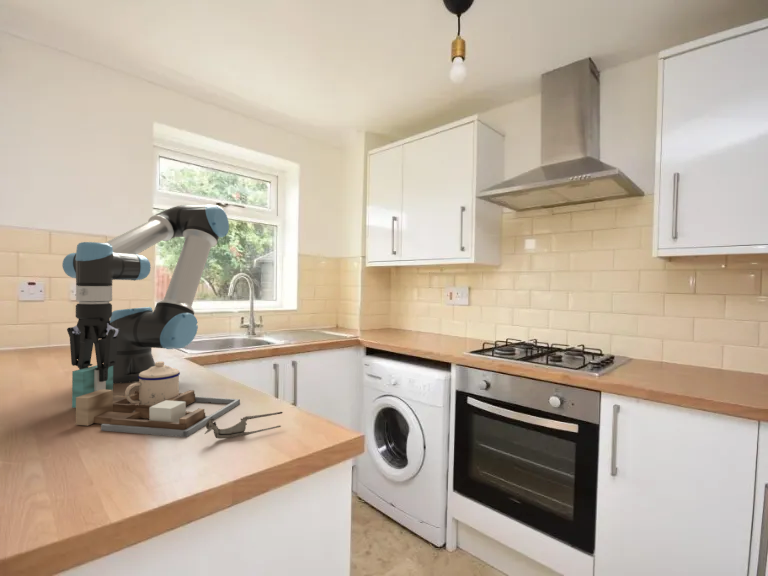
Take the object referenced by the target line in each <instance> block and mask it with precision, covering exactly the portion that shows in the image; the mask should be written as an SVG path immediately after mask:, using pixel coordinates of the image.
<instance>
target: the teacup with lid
mask: <svg viewBox="0 0 768 576" xmlns="http://www.w3.org/2000/svg"><path fill="white" fill-rule="evenodd" d="M180 375H181V372H180V370H179V369H178V368H175V367H171V366H169V365H167V364H165V362H164V361H156V362H155V366H153V367H151V368H149V369H148V370H145V371H142V372H141V373H140V374H139V376H138V378H139V382H132V383H130V384H129V385H128V386H127V387H126V388H125V391H124V396H125V397H126V399H127V400H128V401H129V402H130V403H129V404H135V405H149V406H154V405H156V404H158V403H160V402H163V401H165V400H168V399H171V398H173V397H175V396H177V395H179V393H180V389H179V388H180V387H179V386H180V384H179V383H180ZM135 387H138V390H139V399H137V400H132V399H131V398H130V396H129V395H130V392H131V390H132V389H133V388H135Z"/></svg>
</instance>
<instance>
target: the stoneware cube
mask: <svg viewBox="0 0 768 576" xmlns="http://www.w3.org/2000/svg"><path fill="white" fill-rule="evenodd" d="M186 407H187V406H186V402H184V401H169V400H165V401H163V402H160V403H158V404H156V405H154V406H151V407H150V409H149V418H148V419H149V421H163V422H176V423H179V419H180V418H182V417H184V416H185V415H186V411H187V409H186Z"/></svg>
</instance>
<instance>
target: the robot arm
mask: <svg viewBox="0 0 768 576" xmlns="http://www.w3.org/2000/svg"><path fill="white" fill-rule="evenodd" d="M229 229H230V223H229V218H228V215H227V213H226V211H225V210H224V209H223V207H221V206H219V205H215V204H202V205H201V204H195V205H194V204H191V205H190V204H183V205H182V204H181V205H176V206H172V207H170V208H168V209H165V210H163V211H161V212H158V213H156V214H154V215H152V216H151V217H149V218H148V220H147V222H144V223H142V224H140V225H138V226H135V227H134V228H132V229H130V230H128V231H126V232H123V233H122V234H120V235H118V236H116V237H114V238H112V239H110V240H108V241H105V242H95V241H94V242H93V241H81V242H79V243H78V244H77V246H76V252H72V253H69V254H67V255H65V257H64V258H63V260H62V269H63V272H64V273H65V275H66V276H69V277H70V278H72V279H75V301H76V302H78V303H76V305H75V318H76V319H78V321H77V323H76V325H75V326H71V327H67V328H66V331H67V334H68V337H69V347H70V348H69V349H70V359H71V360H70V361H71V365H72V366H74V367H75V366H76V367H77V368H78V370H80V369H84V368H88V367H92V366H94V365H93V364H92V363H91V360H92V356H93V355H92V354H93V348H94V351H95V352H94V353H95V359H96V365H97V368H95V370H94V391H98V390H101V389H106V381H107V379H108V368H109V367H111V366H113V384H133V383H138V382H139V378H138V376H139V374H140V373H141V372H142V371H145V370H148V369H149V368H151V367H153V366H155V363H156V362H155V359H154V356H153V353H152V349H153V348H154V349H166V350H176V349H177V350H179V349H183V348H186V347H187V346H189V345H190V344H191V343H192V341H194V339H195V338H196V336H197V332H198V328H199V326H198V322H199V321H198V319H197V317H196V316H195V310H194V309H193V302H194V300H195V297H196V293H197V291H198V288H199V285H200V281H201V279H202V276H203V272H204V269H205V265H206V264H207V260H208V259H209V255H210V251H211V248H213V247H215V246H217V244H218V241H219V238H224V237H226V236H227V235H228V233H229ZM182 237H183V238H184V239H185V240H184V243H183V245H182V249H181V251H180V253H179V256H178V260H177V262H176V265H175V268H174V271H173V274H172V276H171V278H170V281H169V284H168V287H167V290H166V292H165V294H164V298H163V300H160V301H157V302H156V303H155V304H156V305H155V307H154V310H153V308H152V307H151V306H145V307H134V308H124V309H116V310H114V311H113V304H112V303H111V302H112V301H113V281H114V280H115V281H116V280H117V281H119V280H120V281H138V280H139V281H141V280H144V279H145V278H147V277H148V276H149V275H150V273H151V269H152V268H151V262H150V260H149V259H148V258H147V257H146V256H144V255H141V253H142V252H144V251H146V250H147V249H150V248H152V247H153V246H155V245H156V244H158V243H161V242H166V241H170V240H171V239H175V238H182Z"/></svg>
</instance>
